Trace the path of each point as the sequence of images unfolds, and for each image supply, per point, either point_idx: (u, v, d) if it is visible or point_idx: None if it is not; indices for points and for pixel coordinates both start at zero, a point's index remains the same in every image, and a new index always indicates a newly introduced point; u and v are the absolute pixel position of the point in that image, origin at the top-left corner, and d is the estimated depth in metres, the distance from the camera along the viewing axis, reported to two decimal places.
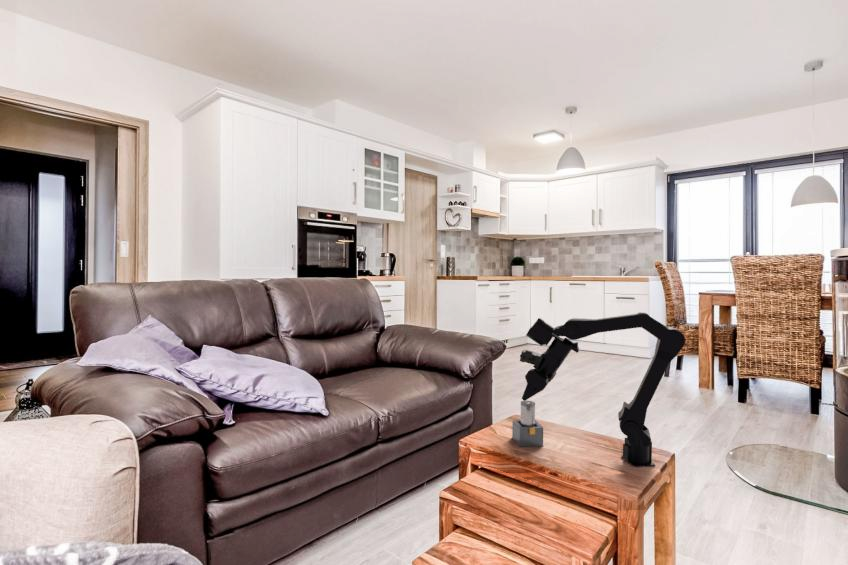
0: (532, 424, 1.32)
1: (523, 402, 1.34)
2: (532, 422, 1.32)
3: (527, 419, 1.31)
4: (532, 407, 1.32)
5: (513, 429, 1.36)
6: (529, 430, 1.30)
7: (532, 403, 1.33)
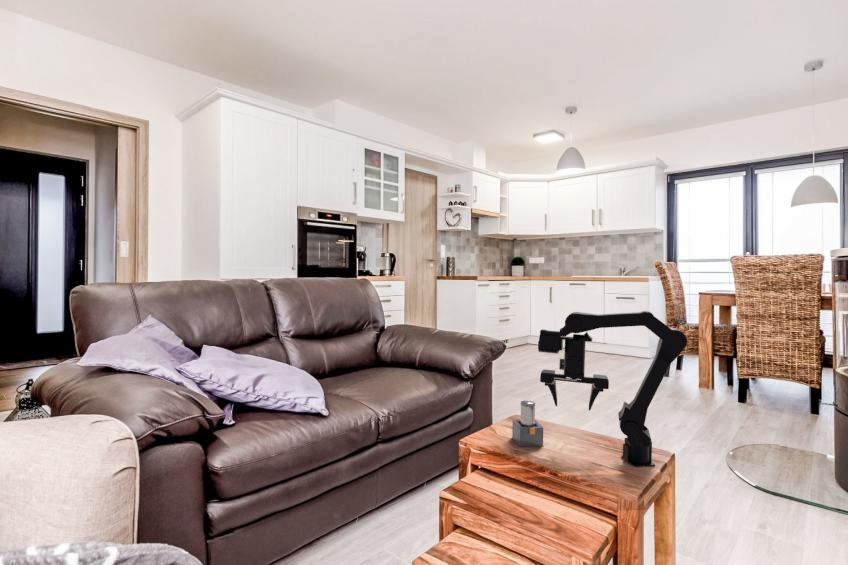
0: (532, 424, 1.32)
1: (523, 402, 1.34)
2: (532, 422, 1.32)
3: (527, 419, 1.31)
4: (532, 407, 1.32)
5: (513, 429, 1.36)
6: (529, 430, 1.30)
7: (532, 403, 1.33)
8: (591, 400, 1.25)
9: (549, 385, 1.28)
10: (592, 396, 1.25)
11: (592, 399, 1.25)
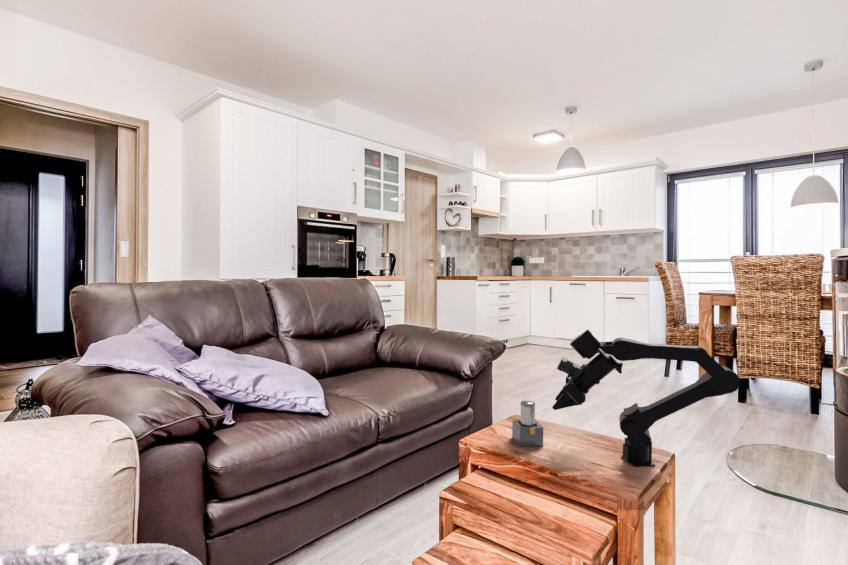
0: (532, 424, 1.32)
1: (523, 402, 1.34)
2: (532, 422, 1.32)
3: (527, 419, 1.31)
4: (532, 407, 1.32)
5: (513, 429, 1.36)
6: (529, 430, 1.30)
7: (532, 403, 1.33)
8: None
9: None
10: None
11: None
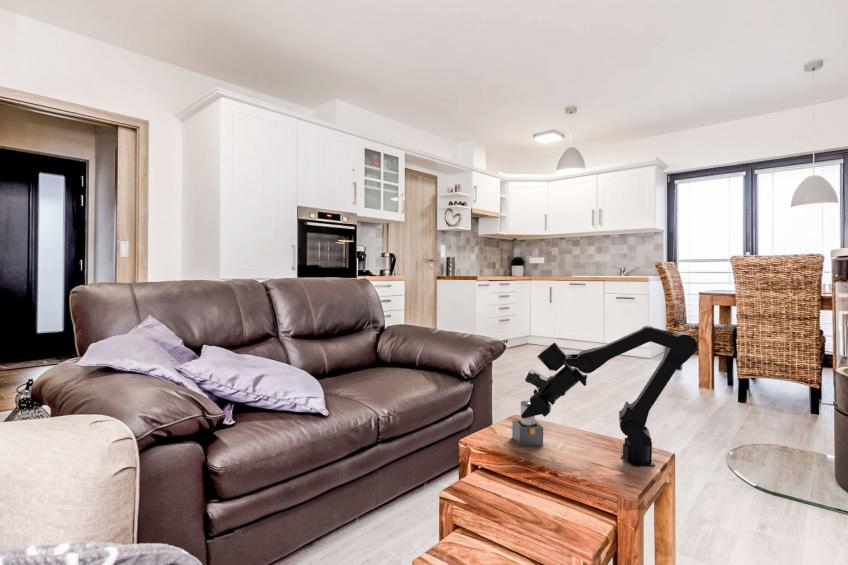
0: (532, 424, 1.32)
1: (523, 402, 1.34)
2: (532, 422, 1.32)
3: (527, 419, 1.31)
4: None
5: (513, 429, 1.36)
6: (529, 430, 1.30)
7: None
8: None
9: None
10: None
11: None
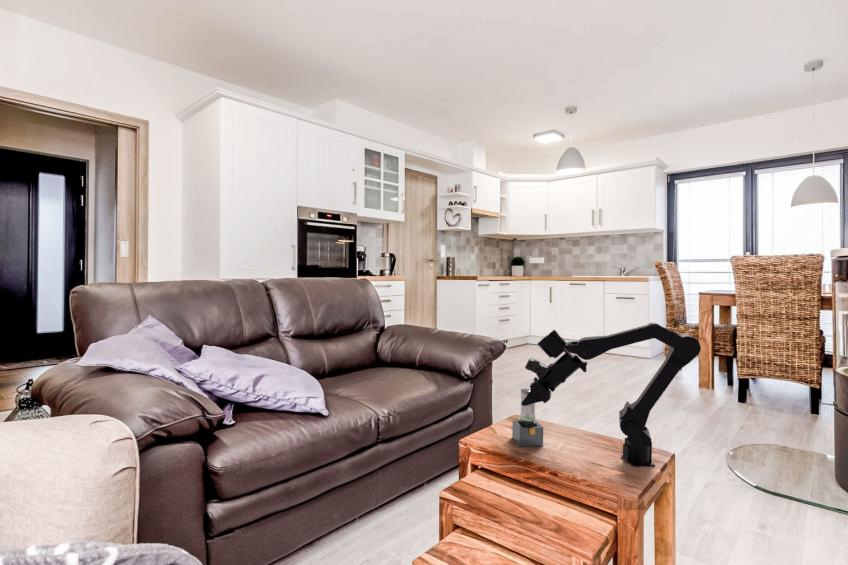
0: (532, 412, 1.32)
1: (523, 390, 1.34)
2: (532, 410, 1.32)
3: (528, 407, 1.31)
4: None
5: (513, 429, 1.36)
6: (529, 430, 1.30)
7: None
8: None
9: None
10: None
11: None
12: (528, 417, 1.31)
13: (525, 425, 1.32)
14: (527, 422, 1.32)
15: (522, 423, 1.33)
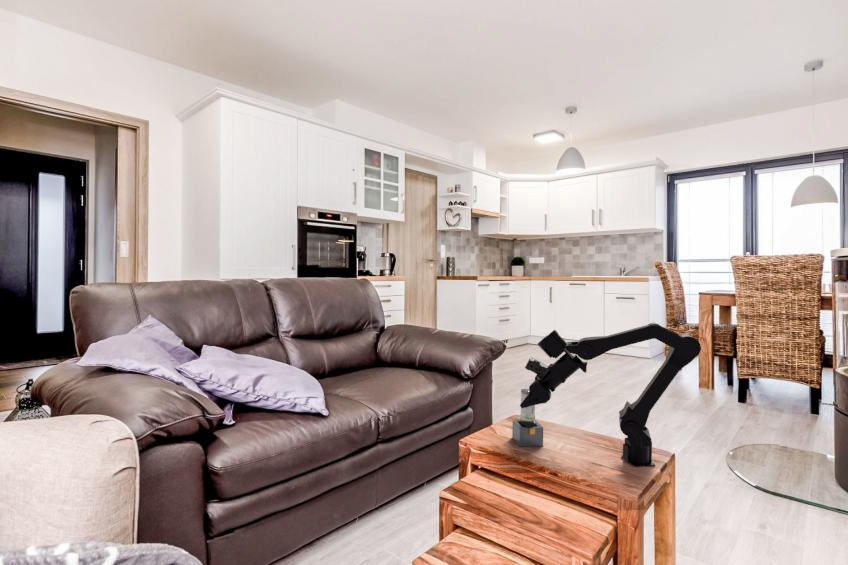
0: (532, 412, 1.32)
1: (523, 390, 1.34)
2: (532, 410, 1.32)
3: (528, 407, 1.31)
4: None
5: (513, 429, 1.36)
6: (529, 430, 1.30)
7: None
8: None
9: None
10: None
11: None
12: (528, 417, 1.31)
13: (525, 425, 1.32)
14: (527, 422, 1.32)
15: (522, 423, 1.33)
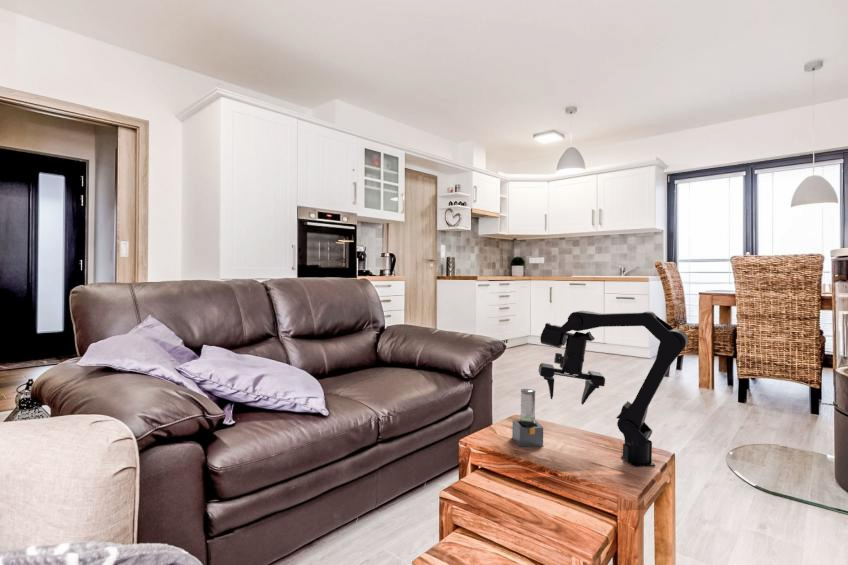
0: (532, 412, 1.32)
1: (523, 390, 1.34)
2: (532, 410, 1.32)
3: (528, 407, 1.31)
4: (532, 395, 1.32)
5: (513, 429, 1.36)
6: (529, 430, 1.30)
7: (532, 391, 1.33)
8: (586, 395, 1.31)
9: (549, 379, 1.31)
10: (588, 392, 1.31)
11: (587, 394, 1.31)
12: (528, 417, 1.31)
13: (525, 425, 1.32)
14: (527, 422, 1.32)
15: (522, 423, 1.33)
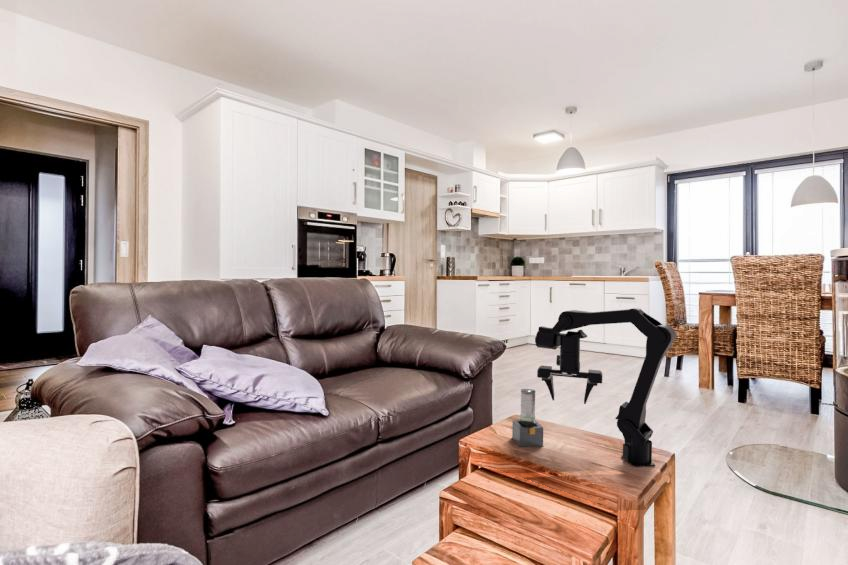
0: (532, 412, 1.32)
1: (523, 390, 1.34)
2: (532, 410, 1.32)
3: (528, 407, 1.31)
4: (532, 395, 1.32)
5: (513, 429, 1.36)
6: (529, 430, 1.30)
7: (532, 391, 1.33)
8: (586, 394, 1.31)
9: (546, 380, 1.34)
10: (587, 390, 1.31)
11: (587, 393, 1.31)
12: (528, 417, 1.31)
13: (525, 425, 1.32)
14: (527, 422, 1.32)
15: (522, 423, 1.33)
